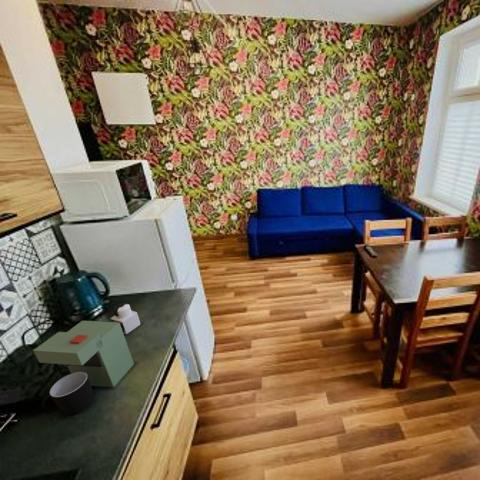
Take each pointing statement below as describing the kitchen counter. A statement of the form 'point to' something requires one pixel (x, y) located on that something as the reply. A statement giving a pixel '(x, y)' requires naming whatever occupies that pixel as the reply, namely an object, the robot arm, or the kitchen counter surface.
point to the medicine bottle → (125, 317)
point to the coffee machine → (90, 351)
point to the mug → (71, 394)
